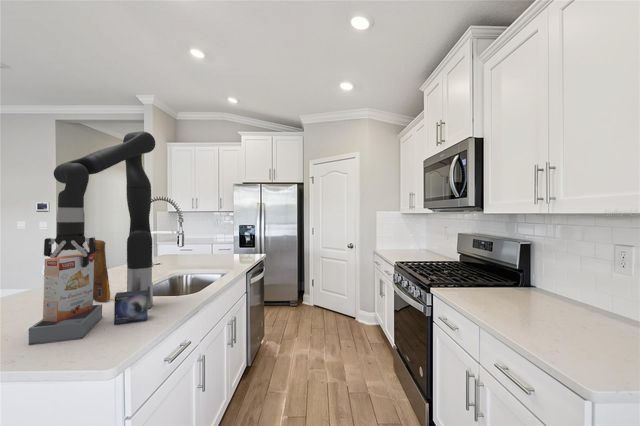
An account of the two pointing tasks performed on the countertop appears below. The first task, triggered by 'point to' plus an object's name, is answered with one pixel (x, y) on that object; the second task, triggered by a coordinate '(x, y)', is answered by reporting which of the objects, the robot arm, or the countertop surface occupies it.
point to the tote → (65, 327)
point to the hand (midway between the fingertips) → (70, 267)
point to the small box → (130, 307)
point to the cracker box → (67, 287)
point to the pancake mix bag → (100, 274)
